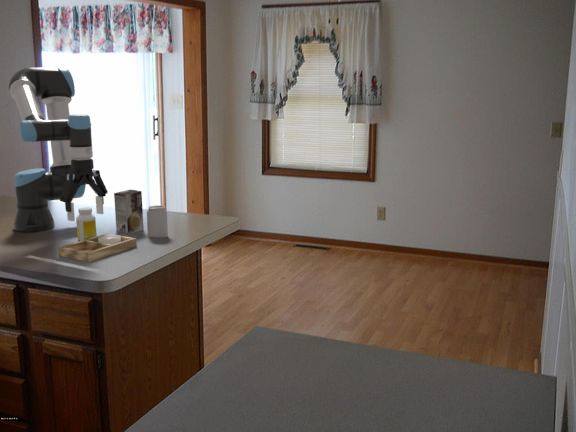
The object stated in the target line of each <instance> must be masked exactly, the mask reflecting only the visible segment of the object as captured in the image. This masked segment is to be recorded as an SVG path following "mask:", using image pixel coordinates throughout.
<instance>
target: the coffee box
mask: <svg viewBox="0 0 576 432" xmlns="http://www.w3.org/2000/svg"><path fill="white" fill-rule="evenodd" d="M142 193H143V192H142V191H141V190H137V189H136V190H135V189H127V190H122V191H119V192H114V193H113V198H114V199H113V200H114V210H115V211H114V212H115V213H114V214H115V228H116V232H120V233H127V234H130V233H133V234H136V233H140V232H142V231H144V230H145V228H144V216H143V215H144V214H143V213H144V212H143V211H144V210H143V196H142Z"/></svg>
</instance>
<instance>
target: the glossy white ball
mask: <svg viewBox="0 0 576 432" xmlns="http://www.w3.org/2000/svg"><path fill="white" fill-rule="evenodd" d="M102 235H103V234H102ZM99 236H100V235H99ZM121 236H122V235H119V234H114V235H103V236H100V237H98V242H99V243H105V244H110V245H113V244H116V243H119V242H121Z"/></svg>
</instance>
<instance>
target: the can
mask: <svg viewBox="0 0 576 432" xmlns="http://www.w3.org/2000/svg"><path fill="white" fill-rule="evenodd" d="M146 225H147V237H149V238H166V237H168V235H169V234H168V233H169V232H168V229H169V228H168V210H167V209H166V206H164V205H150V206H148V209H147V211H146Z"/></svg>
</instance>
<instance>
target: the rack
mask: <svg viewBox="0 0 576 432" xmlns="http://www.w3.org/2000/svg"><path fill="white" fill-rule="evenodd" d="M103 235H115V234H114V233H104V234H100V235H97V236H96V237H93V238H89V239H86V240H83V241H79V242H78V241H76V242H73V243H69V244H66V245H63V246H59V247H58V256H59V257H63V258H69V259H73V260H77V261H78V260H79V261H84V262H87V263H88V262H89V263H90V262H91V263H92V262H93V261H97V260H100V259H102V258H105V257H107V256H111V255H114V254H117V253H120V252H121V253H122V252H124V251H126V250H130V249H132V248H133V249H134V248H135V247H137V245H138V244H137V238H136V237H131V236H124V235H120V236H121V242H119V243H116V244H113V245H110V244H105V243H99V242H98V237H100V236H103Z"/></svg>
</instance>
